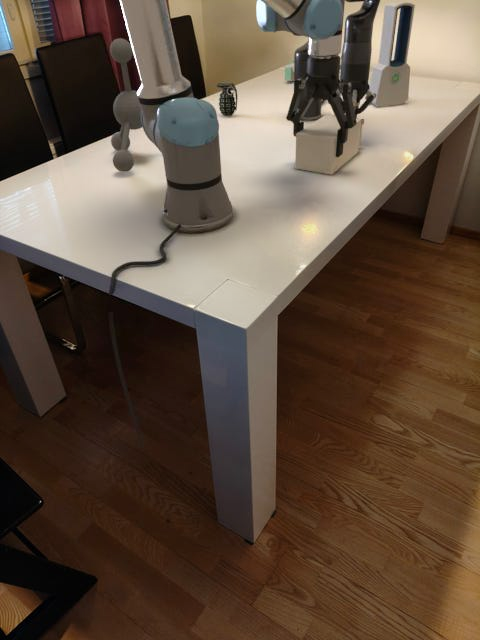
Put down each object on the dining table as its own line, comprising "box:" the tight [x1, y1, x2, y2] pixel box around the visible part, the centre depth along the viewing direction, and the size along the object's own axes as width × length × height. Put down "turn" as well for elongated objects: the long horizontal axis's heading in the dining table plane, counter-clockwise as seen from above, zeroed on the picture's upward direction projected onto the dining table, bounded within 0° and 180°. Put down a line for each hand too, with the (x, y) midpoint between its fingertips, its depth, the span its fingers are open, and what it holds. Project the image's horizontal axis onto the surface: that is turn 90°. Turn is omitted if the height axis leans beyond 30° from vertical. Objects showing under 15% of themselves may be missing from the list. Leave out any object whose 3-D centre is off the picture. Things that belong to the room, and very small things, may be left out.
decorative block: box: [284, 60, 341, 82], centre depth 206 cm, size 26×6×20 cm
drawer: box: [359, 118, 365, 147], centre depth 133 cm, size 22×9×7 cm, turn 148°
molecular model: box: [109, 37, 143, 173], centre depth 130 cm, size 24×22×30 cm
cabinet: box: [294, 114, 363, 176], centre depth 128 cm, size 18×10×9 cm, turn 148°
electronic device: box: [368, 0, 416, 108], centre depth 163 cm, size 12×8×30 cm, turn 105°
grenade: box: [215, 82, 238, 117], centre depth 166 cm, size 7×6×10 cm
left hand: (318, 152), depth 125 cm, fingers closed on cabinet, 10 cm apart
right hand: (350, 128), depth 138 cm, fingers closed
